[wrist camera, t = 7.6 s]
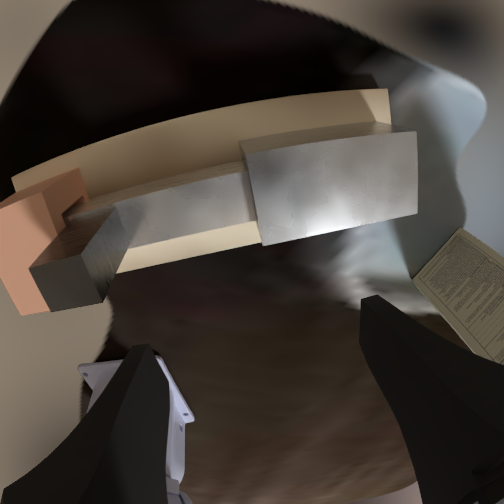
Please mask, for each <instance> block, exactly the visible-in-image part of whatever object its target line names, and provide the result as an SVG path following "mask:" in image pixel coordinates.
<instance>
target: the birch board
mask: <svg viewBox="0 0 504 504" xmlns="http://www.w3.org/2000/svg"><path fill="white" fill-rule="evenodd" d="M372 121H378V122H382V123H387V124H391V116H390V105H389V96H388V89H380V88H379V89H359V90H344V91H332V92H321V93H312V94H303V95H295V96H287V97H280V98H274V99H267V100H261V101H255V102H249V103H244V104H238V105H233V106H228V107H223V108H218V109H213V110H209V111H204V112H200V113H195V114H191V115H187V116H183V117H179V118H175V119H171V120H167V121H164V122H160V123H156V124H153V125H149V126H146V127H142V128H139V129H136V130H132V131H129V132H126V133H123V134H120V135H116V136H113V137H110V138H107V139H104V140H102V141H99V142H96V143H93V144H90V145H87V146H85V147H82V148H79V149H77V150H74V151H71V152H69V153H66V154H64V155H61V156H59V157H56V158H54V159H51V160H49V161H46V162H44V163H42V164H39V165H37V166H35V167H32V168H30V169H28V170H26V171H23V172H21V173H19V174H17V175H15V176H14V177H12V182H13V185H14V188H15V191H16V192H18V191H20V190H23V189H25V188H27V187H30V186H32V185H35V184H37V183H39V182H42V181H44V180H47V179H49V178H52V177H55V176H57V175H60V174H62V173H65V172H68V171H70V170H73V169H76V168H79V170H80V173H81V176H82V179H83V183H84V186H85V189H86V192H87V195H88V198H89V199H92V198H96V197H99V196H102V195H105V194H109V193H112V192H116V191H119V190H122V189H126V188H129V187H133V186H137V185H140V184H144V183H148V182H151V181H155V180H159V179H163V178H167V177H171V176H175V175H179V174H183V173H187V172H191V171H195V170H200V169H204V168H208V167H213V166H217V165H222V164H227V163H231V162H236V161H241V160H242V157H241V152H240V147H239V141H240V140H245V139H250V138H256V137H261V136H267V135H272V134H278V133H284V132H291V131H297V130H304V129H311V128H318V127H326V126H334V125H342V124H351V123H361V122H372ZM260 242H262V241H261V238H260V235H259V232H258V229H257V226H256V222H255V221H252V222H247V223H242V224H237V225H233V226H228V227H224V228H219V229H214V230H210V231H205V232H201V233H196V234H192V235H187V236H183V237H178V238H174V239H170V240H165V241H161V242H157V243H152V244H148V245H144V246H139V247H135V248H131V249H127V251H126V253H125V255H124V258H123V260H122V262H121V264H120V266H119V268H118V270H117V272H116V273H121V272H125V271H130V270H134V269H139V268H143V267H148V266H153V265H157V264H162V263H166V262H171V261H176V260H180V259H185V258H189V257H194V256H199V255H203V254H208V253H213V252H217V251H222V250H227V249H231V248H236V247H241V246H245V245H250V244H255V243H260Z"/></svg>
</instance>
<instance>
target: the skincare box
mask: <svg viewBox="0 0 504 504" xmlns="http://www.w3.org/2000/svg"><path fill="white" fill-rule="evenodd" d="M412 282H413V283H414V284H415V285H416V287H417V288H418V289H419V290H420V291H421V293H422V294H423V295H424V296H425V297H426V298H427V299H428V301H429V302H430V303H431V304H432V305H433V306H434V307H435V308H436V310H437V311H438V312H439V313H440V314H441V315H442V316H443V318H444V319H445V320H446V321H447V322H448V323H449V324H450V325H451V327H452V328H453V329H454V330H455V331H456V333H457V334H458V335H459V336H460V337H461V339H462V340H463V341H464V342H465V343H466V345H467V346H468V347H469V348H470V349H471V351H472V352H473V353H474V354H476V355H479V356H481V357H483V358H486V359H489V360H491V361H494V362H497V363H500V364H502V365H504V257H503V256H501V255H500V254H499V253H497V252H496V251H494V250H493V249H491V248H490V247H489V246H487V245H486V244H485V243H483V242H482V241H480V240H479V239H477V238H476V237H474V236H472V235H471V234H470V233H468V232H467V231H465V230H464V229H462V228H459V229H458V230H457V231H456V232H455V233H454V234H453V235H452V237H451V238H450V239H449V240H448V241H447V242H446V243H445V244H444V245H443V247H442V248H441V249H440V250H439V251H438V252H437V253H436V254H435V256H434V257H433V258H432V259H431V260H430V261H429V262H428V263H427V264H426V265H425V266H424V267H423V268H422V270H421V271H420V272H419V273H418V274H417V275H416V276H415V277H414V278H413V280H412Z"/></svg>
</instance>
